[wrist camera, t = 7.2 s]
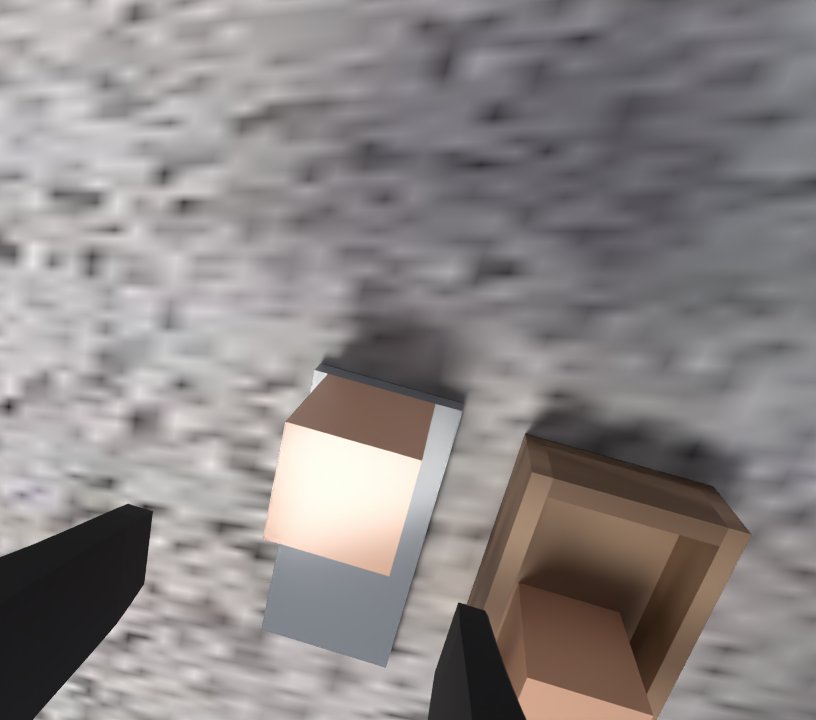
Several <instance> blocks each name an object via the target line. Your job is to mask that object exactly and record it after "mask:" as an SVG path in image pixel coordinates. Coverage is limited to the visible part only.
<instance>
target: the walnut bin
mask: <svg viewBox="0 0 816 720" xmlns="http://www.w3.org/2000/svg"><path fill="white" fill-rule="evenodd" d="M750 536H751V533H750V532H749V531H748V530H747V528H746V527H745V526H744V524H743V523H742V522H741V521H740V519H739V518H738V517H737V516H736V514H735V513H734V512H733V511H732V509H731V508H730V507H729V506H728V504H727V503H726V502H725V501H724V499H723V498H722V497H721V496H720V494H719V493H718V492H717V491H716V489H715V488H714V487H713V486H709V485H705V484H702V483H698V482H695V481H691V480H688V479H684V478H680V477H677V476H673V475H670V474H666V473H663V472H659V471H655V470H652V469H648V468H645V467H641V466H638V465H634V464H630V463H627V462H623V461H620V460H616V459H613V458H609V457H606V456H602V455H598V454H595V453H591V452H588V451H584V450H581V449H577V448H573V447H570V446H566V445H563V444H559V443H556V442H552V441H548V440H545V439H541V438H538V437H534V436H531V435H527V434H525V436H524V439H523V442H522V445H521V448H520V451H519V454H518V457H517V460H516V463H515V466H514V468H513V471H512V474H511V477H510V480H509V483H508V486H507V489H506V492H505V495H504V498H503V501H502V504H501V506H500V509H499V512H498V515H497V518H496V521H495V524H494V527H493V530H492V533H491V536H490V539H489V542H488V544H487V547H486V550H485V553H484V556H483V559H482V562H481V565H480V568H479V571H478V574H477V577H476V580H475V582H474V585H473V588H472V591H471V594H470V597H469V600H468V603H467V605H469V606H472V607H475V608H479V609H482V610H485V611H486V613H487V615H488V616H489V620H490V623H491V627H492V630H493V633H494V636H495V639H496V641H497V639H498V636H499V633H500V631H501V628H502V625H503V623H504V620H505V617H506V615H507V612H508V609H509V607H510V604H511V601H512V598H513V596H514V593H515V590H516V588H517V585H518V583H522V584H525V585H528V586H532V587H535V588H539V589H542V590H545V591H549V592H552V593H555V594H559V595H562V596H566V597H569V598H572V599H576V600H579V601H583V602H586V603H589V604H593V605H596V606H599V607H603V608H606V609H610V610H613V611H616V612H620V615H621V618H622V621H623V624H624V627H625V630H626V633H627V637H628V640H629V643H630V646H631V649H632V652H633V655H634V658H635V661H636V664H637V667H638V670H639V673H640V676H641V679H642V682H643V685H644V688H645V691H646V694H647V697H648V700H649V704H650V707H651V710H652V713H653V718H652V720H657V718H658V716H659V714H660V712H661V710H662V708H663V706H664V704H665V702H666V700H667V698H668V696H669V695H670V693H671V691H672V689H673V687H674V685H675V683H676V681H677V679H678V677H679V675H680V673H681V671H682V669H683V667H684V665H685V663H686V661H687V659H688V657H689V655H690V654H691V652H692V650H693V648H694V646H695V644H696V642H697V640H698V638H699V636H700V634H701V632H702V630H703V628H704V626H705V624H706V622H707V620H708V618H709V616H710V614H711V612H712V611H713V609H714V607H715V605H716V603H717V601H718V599H719V597H720V595H721V593H722V591H723V589H724V587H725V585H726V583H727V581H728V579H729V577H730V575H731V573H732V571H733V570H734V568H735V566H736V564H737V562H738V560H739V558H740V556H741V554H742V552H743V550H744V548H745V546H746V544H747V542H748V540H749V538H750Z"/></svg>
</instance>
